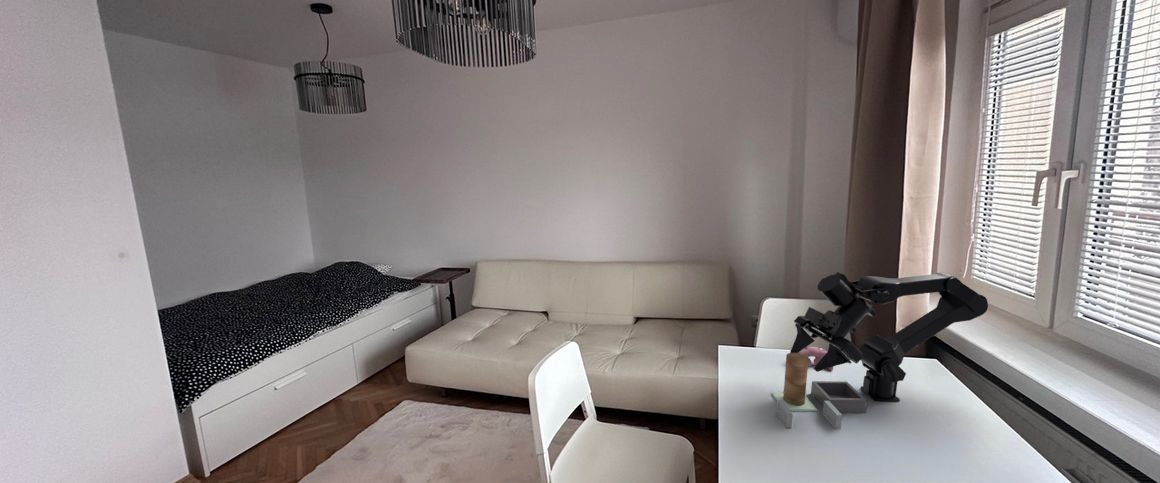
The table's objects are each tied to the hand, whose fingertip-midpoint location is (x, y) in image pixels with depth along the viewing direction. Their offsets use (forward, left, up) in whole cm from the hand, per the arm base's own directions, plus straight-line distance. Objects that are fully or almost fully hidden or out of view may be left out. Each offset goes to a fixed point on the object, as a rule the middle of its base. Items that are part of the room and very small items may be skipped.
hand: (802, 361), depth 111 cm
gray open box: (-9, 0, -11) cm, 14 cm away
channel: (+2, +8, -11) cm, 14 cm away
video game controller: (-12, -19, -11) cm, 26 cm away
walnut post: (+2, 0, -11) cm, 11 cm away
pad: (+2, 0, -11) cm, 11 cm away
